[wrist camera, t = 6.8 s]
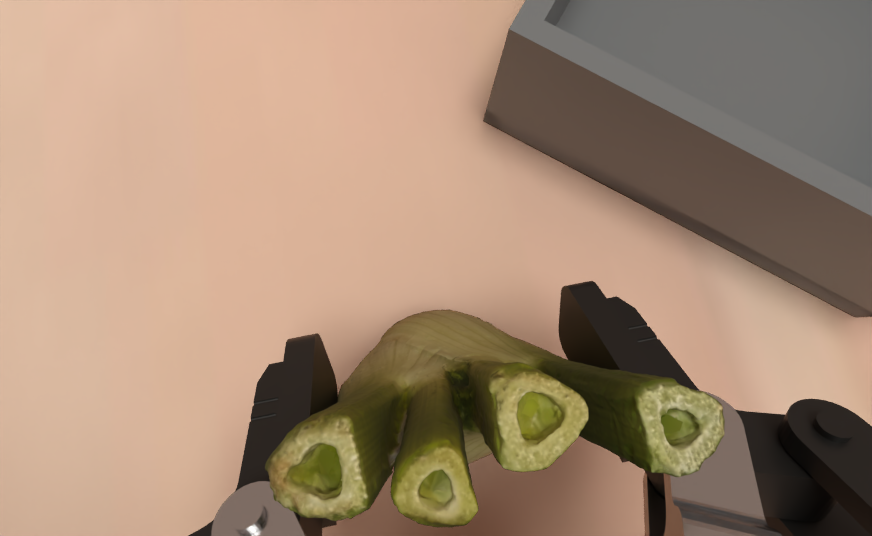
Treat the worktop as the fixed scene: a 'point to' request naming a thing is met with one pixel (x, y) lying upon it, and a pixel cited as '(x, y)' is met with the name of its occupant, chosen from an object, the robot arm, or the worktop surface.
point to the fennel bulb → (476, 421)
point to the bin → (712, 121)
